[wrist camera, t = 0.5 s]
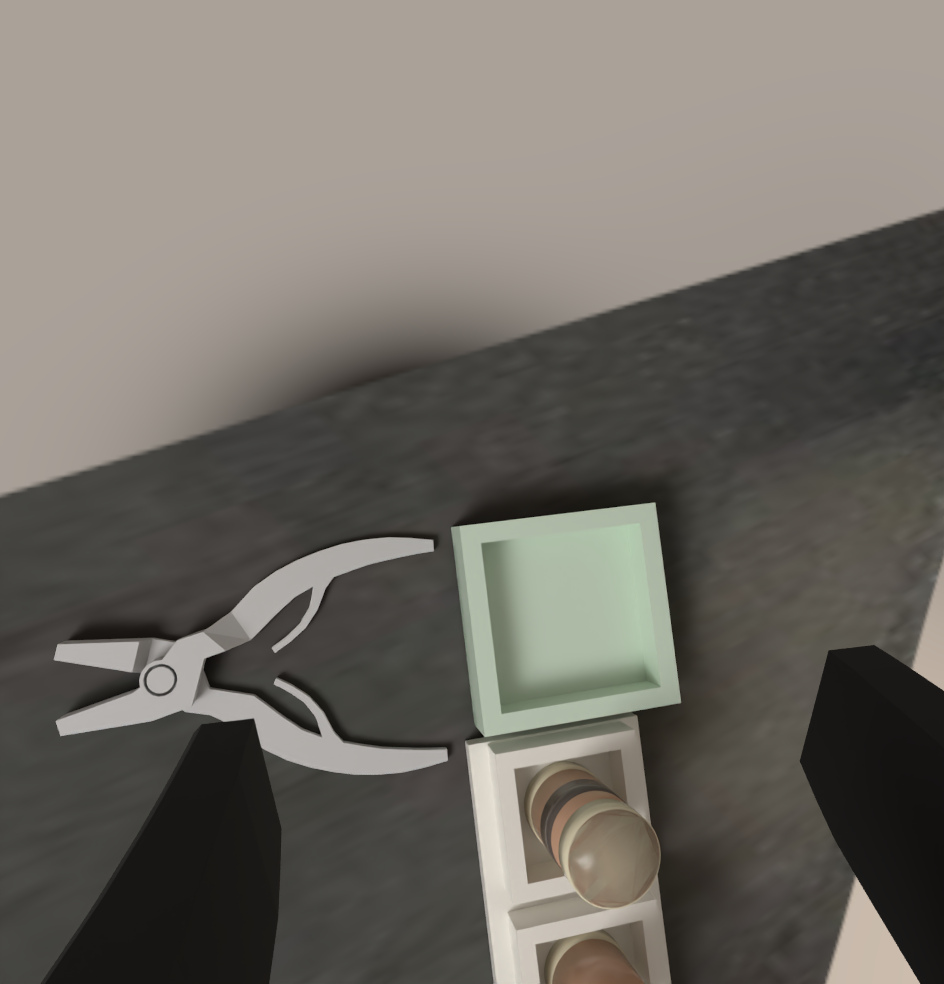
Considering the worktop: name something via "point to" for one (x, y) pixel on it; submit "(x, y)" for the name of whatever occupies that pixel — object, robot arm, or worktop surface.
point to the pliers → (184, 686)
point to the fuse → (589, 961)
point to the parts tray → (565, 617)
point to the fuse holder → (528, 865)
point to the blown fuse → (592, 835)
